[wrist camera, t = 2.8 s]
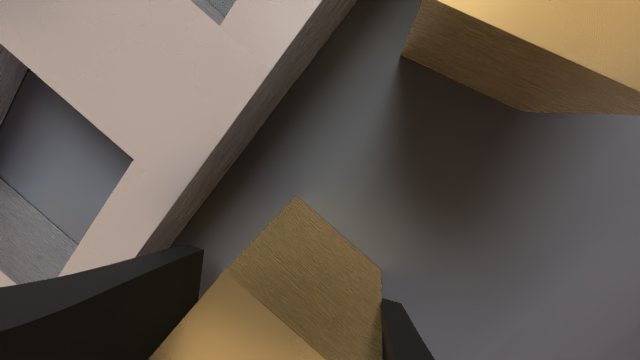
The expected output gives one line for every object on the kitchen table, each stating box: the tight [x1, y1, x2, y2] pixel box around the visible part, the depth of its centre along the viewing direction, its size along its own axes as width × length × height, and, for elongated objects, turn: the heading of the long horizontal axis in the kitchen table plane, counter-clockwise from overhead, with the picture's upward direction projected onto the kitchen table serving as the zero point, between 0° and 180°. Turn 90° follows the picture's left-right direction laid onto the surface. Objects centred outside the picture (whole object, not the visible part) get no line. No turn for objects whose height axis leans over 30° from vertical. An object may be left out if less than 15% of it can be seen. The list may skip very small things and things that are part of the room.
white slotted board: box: [0, 0, 357, 287], centre depth 9 cm, size 9×20×2 cm, turn 140°
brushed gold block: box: [148, 196, 383, 360], centre depth 9 cm, size 4×4×5 cm
